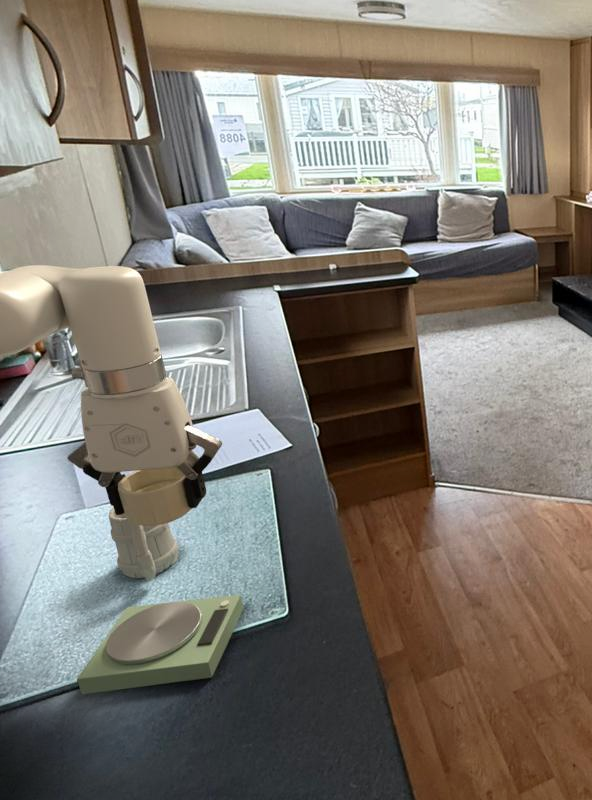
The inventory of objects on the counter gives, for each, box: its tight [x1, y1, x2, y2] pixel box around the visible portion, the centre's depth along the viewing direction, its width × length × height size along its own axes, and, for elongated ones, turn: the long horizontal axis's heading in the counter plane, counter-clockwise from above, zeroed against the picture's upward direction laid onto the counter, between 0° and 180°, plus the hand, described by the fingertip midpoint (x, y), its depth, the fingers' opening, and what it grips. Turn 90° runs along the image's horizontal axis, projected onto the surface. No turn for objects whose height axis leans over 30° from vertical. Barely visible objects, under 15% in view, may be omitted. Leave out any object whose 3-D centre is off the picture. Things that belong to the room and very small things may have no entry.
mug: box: [108, 507, 180, 582], centre depth 94 cm, size 8×12×12 cm, turn 35°
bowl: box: [118, 467, 193, 526], centre depth 81 cm, size 7×7×5 cm
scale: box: [76, 594, 245, 695], centre depth 82 cm, size 14×12×3 cm
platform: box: [106, 601, 202, 664], centre depth 81 cm, size 10×10×1 cm
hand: (161, 504), depth 81 cm, fingers closed on bowl, 7 cm apart
